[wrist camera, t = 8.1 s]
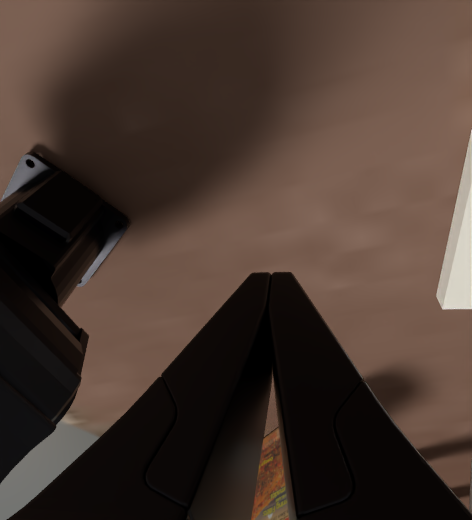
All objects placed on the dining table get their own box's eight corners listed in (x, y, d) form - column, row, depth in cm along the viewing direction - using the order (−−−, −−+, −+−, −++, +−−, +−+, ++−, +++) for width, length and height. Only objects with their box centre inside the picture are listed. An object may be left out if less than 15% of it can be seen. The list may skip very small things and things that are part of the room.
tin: (333, 384, 29) (345, 506, 23) (365, 402, 30) (387, 526, 23) (226, 464, 37) (211, 573, 30) (254, 477, 38) (245, 586, 31)
